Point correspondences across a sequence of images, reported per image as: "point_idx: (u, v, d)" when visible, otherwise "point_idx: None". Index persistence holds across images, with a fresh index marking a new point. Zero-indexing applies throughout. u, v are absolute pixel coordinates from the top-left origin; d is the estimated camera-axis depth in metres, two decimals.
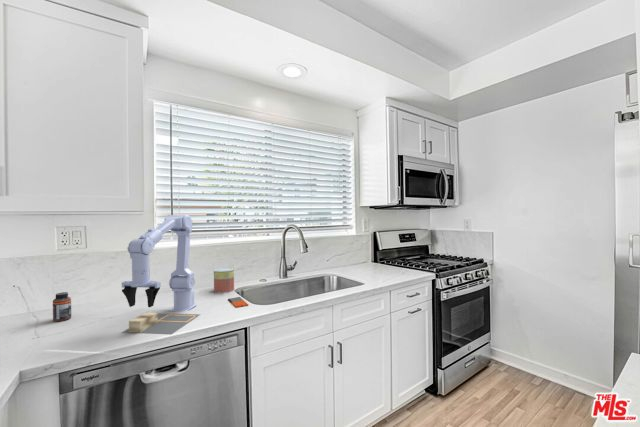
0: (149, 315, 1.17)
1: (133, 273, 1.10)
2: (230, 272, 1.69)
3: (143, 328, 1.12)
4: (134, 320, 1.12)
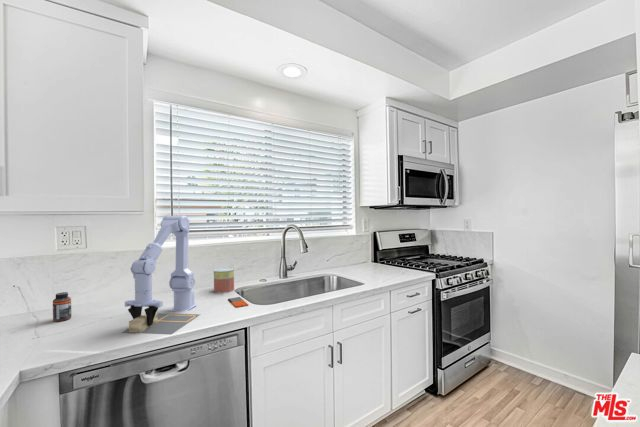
0: None
1: (136, 293, 1.13)
2: (230, 272, 1.69)
3: (143, 328, 1.12)
4: (134, 320, 1.12)
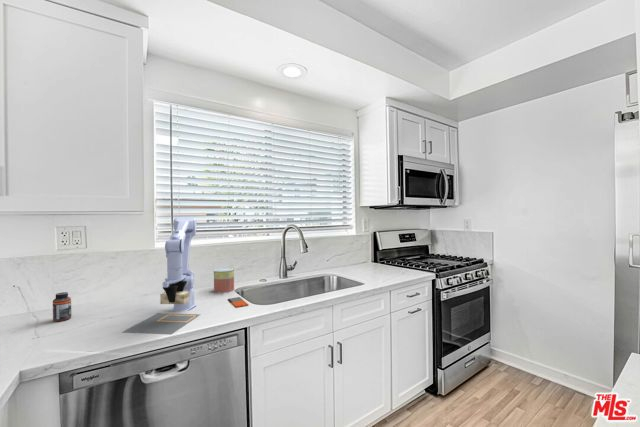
0: (177, 293, 1.23)
1: None
2: (230, 272, 1.69)
3: (164, 302, 1.22)
4: None
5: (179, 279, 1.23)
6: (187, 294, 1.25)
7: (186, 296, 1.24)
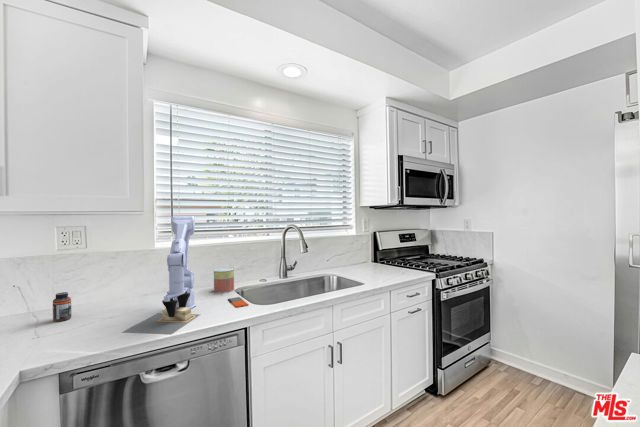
0: (178, 309, 1.23)
1: None
2: (230, 272, 1.69)
3: (166, 318, 1.23)
4: None
5: (181, 293, 1.23)
6: (188, 310, 1.25)
7: (187, 312, 1.24)
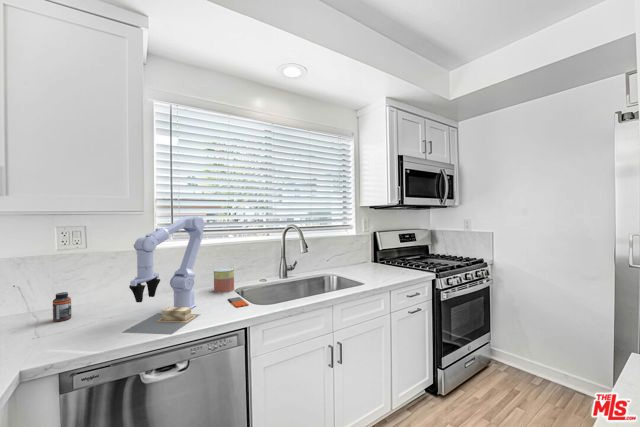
0: (178, 309, 1.23)
1: None
2: (230, 272, 1.69)
3: (166, 318, 1.23)
4: (169, 307, 1.26)
5: (149, 278, 1.21)
6: (188, 310, 1.25)
7: (187, 312, 1.24)
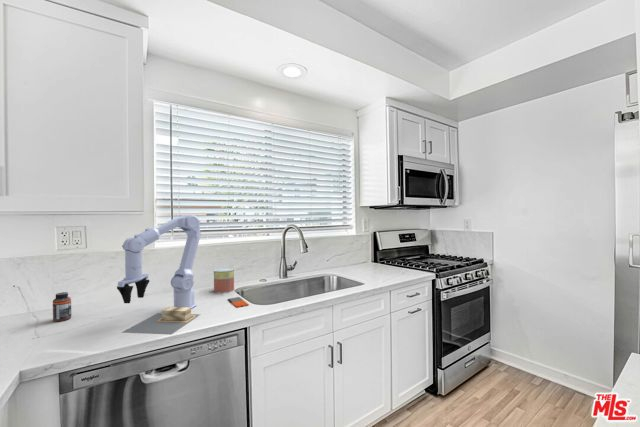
0: (178, 309, 1.23)
1: None
2: (230, 272, 1.69)
3: (166, 318, 1.23)
4: (169, 307, 1.26)
5: (137, 278, 1.20)
6: (188, 310, 1.25)
7: (187, 312, 1.24)
